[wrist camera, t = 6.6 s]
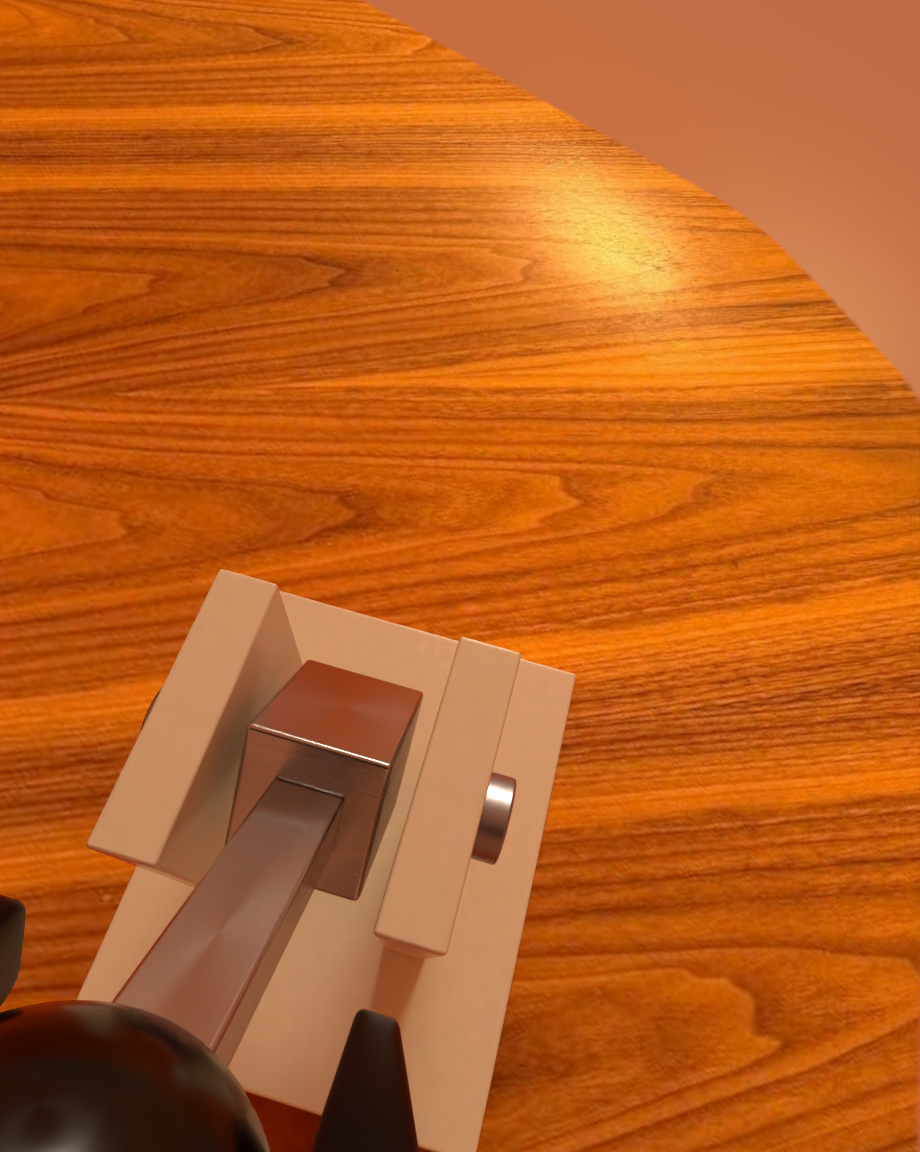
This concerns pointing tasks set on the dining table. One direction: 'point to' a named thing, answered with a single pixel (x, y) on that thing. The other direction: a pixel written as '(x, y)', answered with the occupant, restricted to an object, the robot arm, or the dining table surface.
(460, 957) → the bracket
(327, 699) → the lever
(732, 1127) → the dining table surface
